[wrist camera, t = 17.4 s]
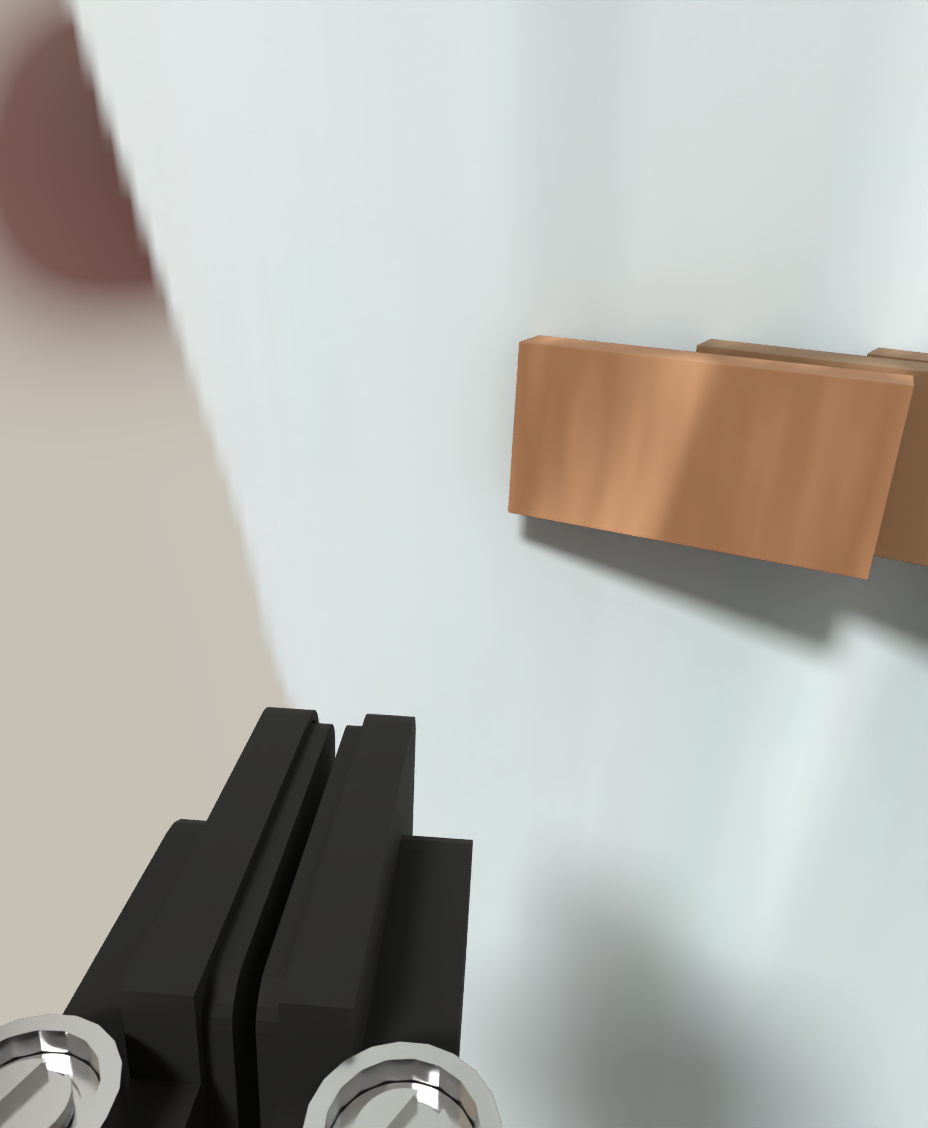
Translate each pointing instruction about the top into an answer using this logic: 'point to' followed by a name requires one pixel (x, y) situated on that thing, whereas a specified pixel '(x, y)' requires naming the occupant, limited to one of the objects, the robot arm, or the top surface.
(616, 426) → the domino
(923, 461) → the domino
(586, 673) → the top surface
